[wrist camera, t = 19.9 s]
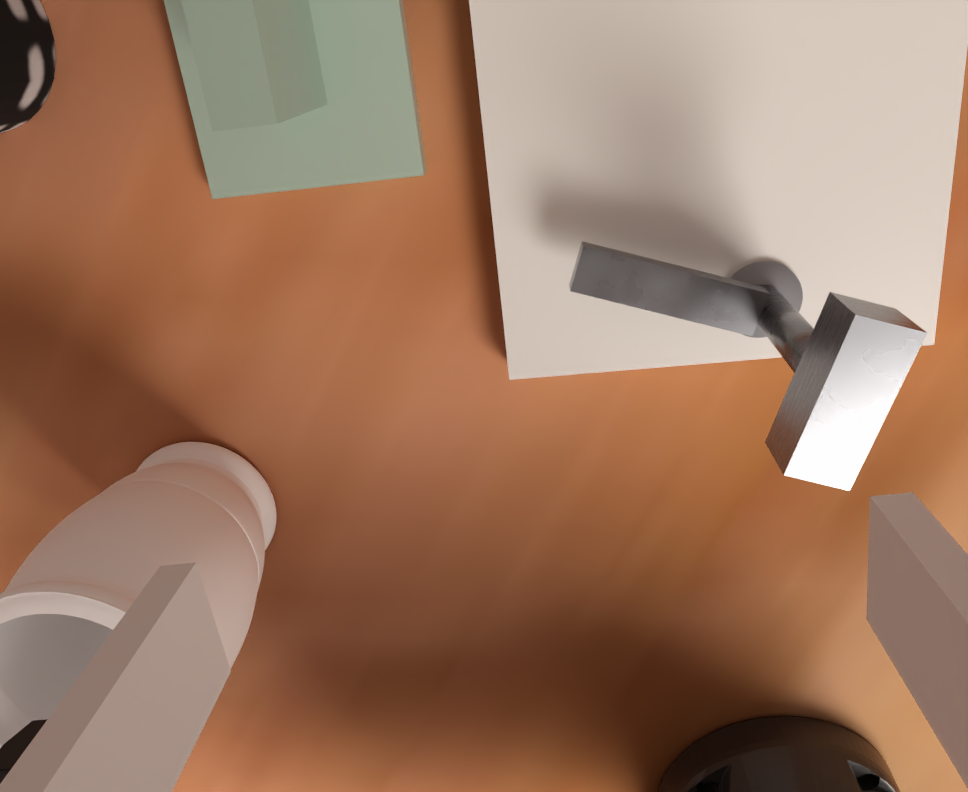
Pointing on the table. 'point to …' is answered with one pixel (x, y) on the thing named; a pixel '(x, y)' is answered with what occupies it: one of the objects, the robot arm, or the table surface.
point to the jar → (131, 569)
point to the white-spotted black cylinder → (24, 61)
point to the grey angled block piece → (782, 353)
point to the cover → (298, 92)
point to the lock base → (714, 161)
